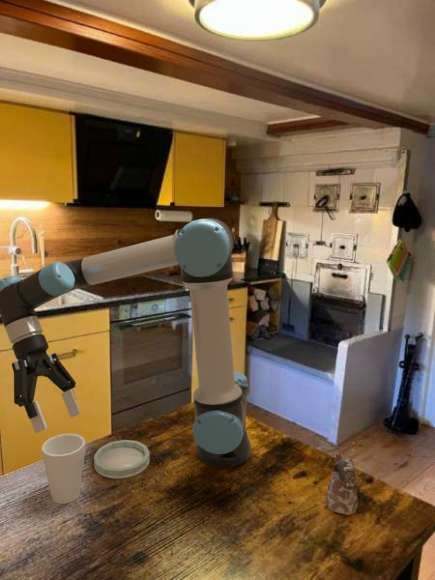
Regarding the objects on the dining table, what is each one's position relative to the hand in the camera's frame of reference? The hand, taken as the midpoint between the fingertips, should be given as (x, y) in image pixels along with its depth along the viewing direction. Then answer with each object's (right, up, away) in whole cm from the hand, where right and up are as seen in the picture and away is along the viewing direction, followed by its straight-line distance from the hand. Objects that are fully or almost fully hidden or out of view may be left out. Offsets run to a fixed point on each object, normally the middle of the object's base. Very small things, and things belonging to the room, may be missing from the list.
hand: (60, 423), depth 100 cm
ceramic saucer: (+11, -15, +14) cm, 23 cm away
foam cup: (+1, -17, +1) cm, 17 cm away
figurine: (+65, -19, +1) cm, 68 cm away
